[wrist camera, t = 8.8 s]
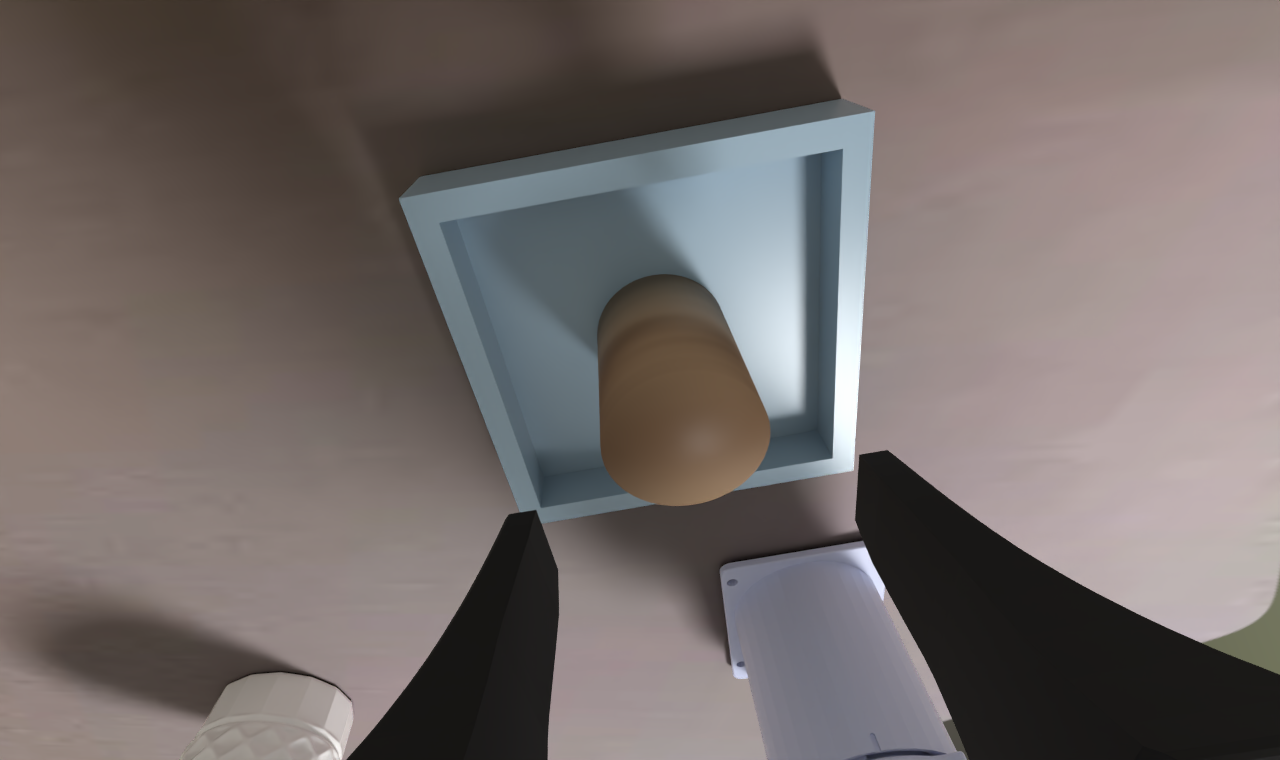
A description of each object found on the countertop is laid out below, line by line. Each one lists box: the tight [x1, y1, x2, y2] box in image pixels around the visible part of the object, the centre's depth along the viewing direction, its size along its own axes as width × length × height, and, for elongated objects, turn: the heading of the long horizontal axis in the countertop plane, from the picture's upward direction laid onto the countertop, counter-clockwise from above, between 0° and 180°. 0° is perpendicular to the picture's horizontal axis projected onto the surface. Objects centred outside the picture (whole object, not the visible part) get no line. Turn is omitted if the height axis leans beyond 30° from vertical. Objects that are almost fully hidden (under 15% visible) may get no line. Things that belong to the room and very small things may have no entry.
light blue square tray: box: [399, 99, 875, 524], centre depth 20 cm, size 13×13×2 cm
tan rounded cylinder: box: [597, 274, 771, 506], centre depth 17 cm, size 4×4×6 cm
